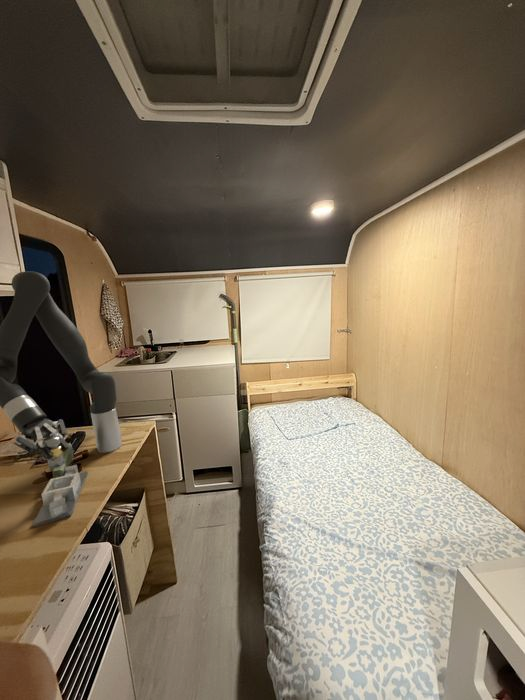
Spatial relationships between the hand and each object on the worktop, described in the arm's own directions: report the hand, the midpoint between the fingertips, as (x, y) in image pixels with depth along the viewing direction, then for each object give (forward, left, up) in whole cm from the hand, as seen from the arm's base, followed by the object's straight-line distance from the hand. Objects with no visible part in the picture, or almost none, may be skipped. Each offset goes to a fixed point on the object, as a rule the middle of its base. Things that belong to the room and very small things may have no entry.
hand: (58, 453), depth 86 cm
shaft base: (-1, -2, -16) cm, 16 cm away
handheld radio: (-17, -12, -16) cm, 27 cm away
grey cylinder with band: (-1, -2, -4) cm, 4 cm away
